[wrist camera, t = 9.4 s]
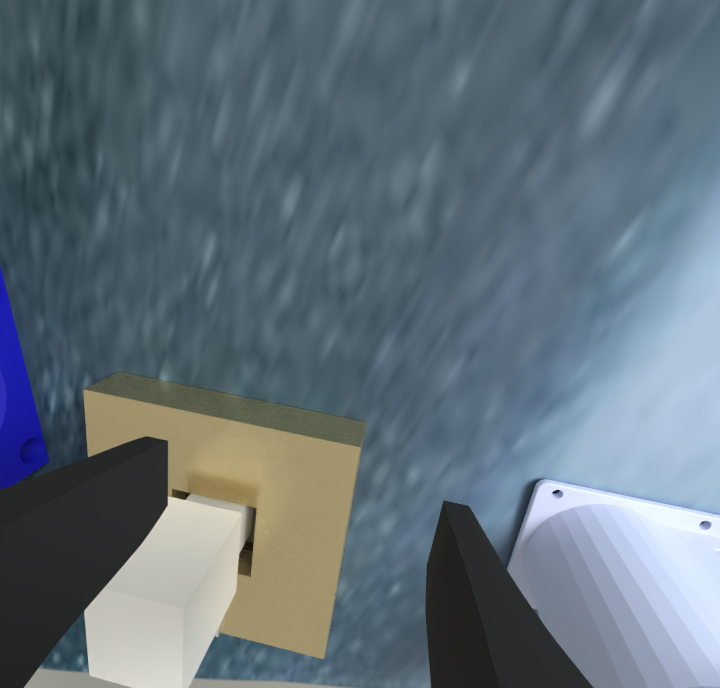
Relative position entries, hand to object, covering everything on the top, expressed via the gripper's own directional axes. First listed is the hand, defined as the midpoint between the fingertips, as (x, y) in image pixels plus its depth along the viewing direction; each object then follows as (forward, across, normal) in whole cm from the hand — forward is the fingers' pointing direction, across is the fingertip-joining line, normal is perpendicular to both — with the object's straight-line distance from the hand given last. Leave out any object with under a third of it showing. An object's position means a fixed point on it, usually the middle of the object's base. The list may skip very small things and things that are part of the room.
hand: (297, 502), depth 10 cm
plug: (+10, +6, +10) cm, 15 cm away
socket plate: (+10, +6, +10) cm, 16 cm away
